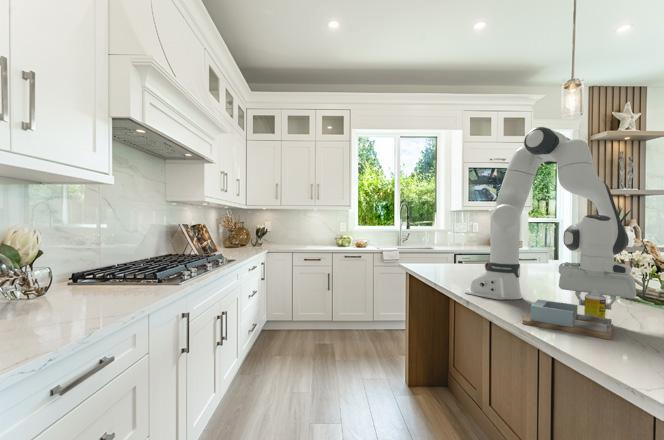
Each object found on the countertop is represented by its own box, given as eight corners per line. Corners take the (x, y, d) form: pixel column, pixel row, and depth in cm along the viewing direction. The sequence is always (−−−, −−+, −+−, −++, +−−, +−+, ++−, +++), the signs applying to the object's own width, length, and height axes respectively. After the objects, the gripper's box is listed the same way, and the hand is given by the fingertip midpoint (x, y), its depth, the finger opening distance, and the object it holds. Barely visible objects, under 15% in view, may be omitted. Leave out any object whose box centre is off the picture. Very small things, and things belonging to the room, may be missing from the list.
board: (522, 323, 112) (522, 313, 112) (531, 314, 123) (531, 305, 123) (611, 339, 98) (611, 328, 98) (613, 328, 109) (613, 317, 109)
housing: (530, 320, 112) (530, 305, 112) (537, 312, 121) (538, 299, 121) (572, 327, 105) (573, 312, 105) (577, 319, 114) (577, 304, 114)
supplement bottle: (600, 324, 113) (601, 292, 113) (580, 320, 118) (581, 288, 117) (608, 322, 116) (609, 290, 116) (588, 317, 121) (589, 287, 121)
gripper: (557, 262, 121) (556, 303, 121) (637, 269, 108) (635, 315, 108) (560, 260, 126) (559, 300, 126) (637, 267, 112) (635, 311, 113)
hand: (594, 307), depth 117 cm, fingers closed on supplement bottle, 5 cm apart
